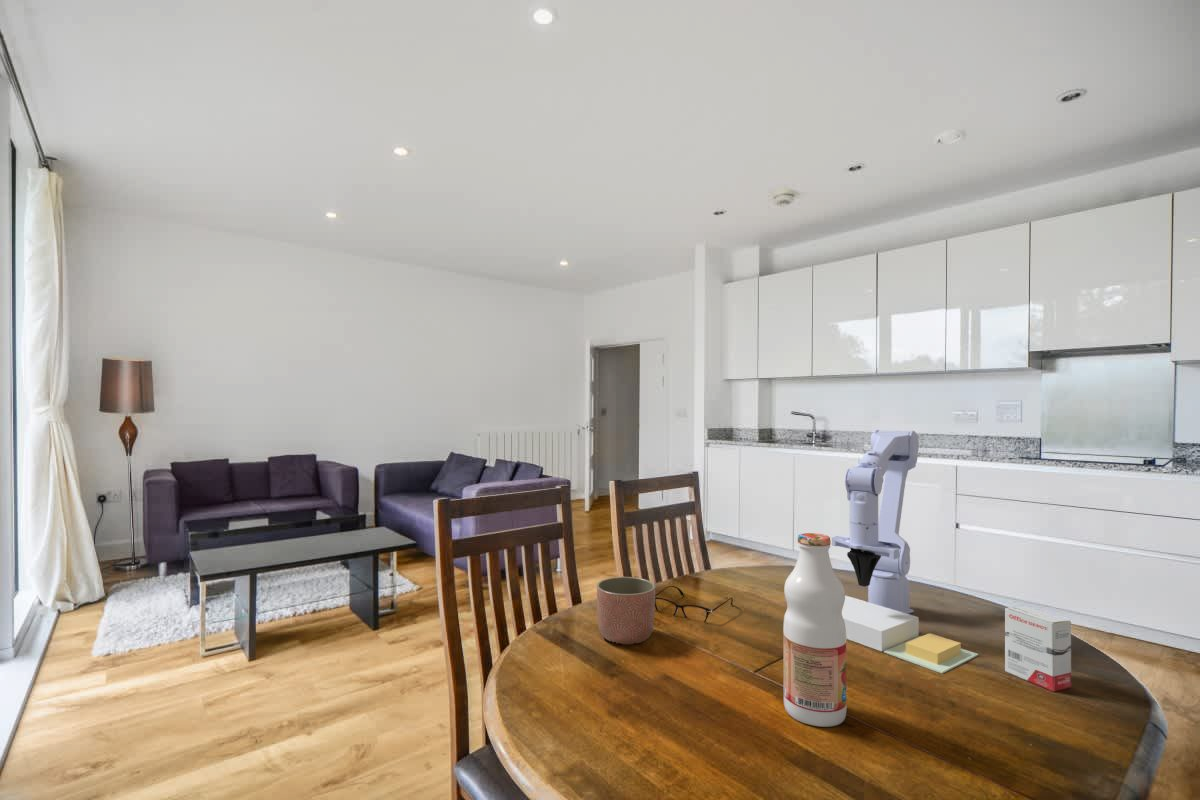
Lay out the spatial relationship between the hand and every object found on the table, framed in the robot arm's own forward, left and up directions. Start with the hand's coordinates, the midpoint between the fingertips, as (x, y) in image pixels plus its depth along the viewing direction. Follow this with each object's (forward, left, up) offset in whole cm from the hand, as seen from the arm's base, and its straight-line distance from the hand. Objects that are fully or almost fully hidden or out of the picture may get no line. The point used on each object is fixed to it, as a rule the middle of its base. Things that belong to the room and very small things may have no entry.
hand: (864, 585), depth 126 cm
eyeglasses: (+21, -31, -11) cm, 39 cm away
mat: (0, +14, -10) cm, 17 cm away
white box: (0, -3, -10) cm, 10 cm away
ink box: (-5, +30, -10) cm, 32 cm away
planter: (+45, -26, -10) cm, 53 cm away
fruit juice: (+38, +15, -10) cm, 42 cm away
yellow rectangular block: (0, +15, -8) cm, 16 cm away
